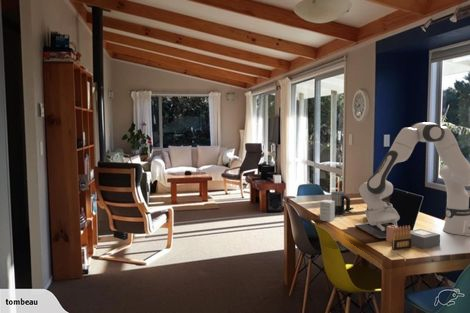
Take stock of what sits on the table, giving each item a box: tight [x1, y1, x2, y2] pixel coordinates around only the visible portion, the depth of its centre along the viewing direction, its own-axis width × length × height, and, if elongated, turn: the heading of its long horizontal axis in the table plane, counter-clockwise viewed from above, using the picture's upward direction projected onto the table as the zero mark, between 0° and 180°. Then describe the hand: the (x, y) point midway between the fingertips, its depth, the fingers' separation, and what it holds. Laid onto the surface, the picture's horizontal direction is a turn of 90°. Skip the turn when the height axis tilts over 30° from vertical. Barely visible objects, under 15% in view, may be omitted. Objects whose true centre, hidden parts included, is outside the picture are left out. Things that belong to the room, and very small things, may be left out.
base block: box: [410, 228, 441, 250], centre depth 208 cm, size 12×12×6 cm
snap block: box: [385, 224, 397, 244], centre depth 214 cm, size 5×5×9 cm
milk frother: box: [330, 191, 354, 215], centre depth 279 cm, size 14×16×15 cm
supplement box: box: [319, 199, 336, 223], centre depth 260 cm, size 7×7×13 cm
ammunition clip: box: [391, 224, 412, 251], centre depth 202 cm, size 11×2×12 cm, turn 107°
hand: (390, 229), depth 215 cm, fingers open, 8 cm apart
